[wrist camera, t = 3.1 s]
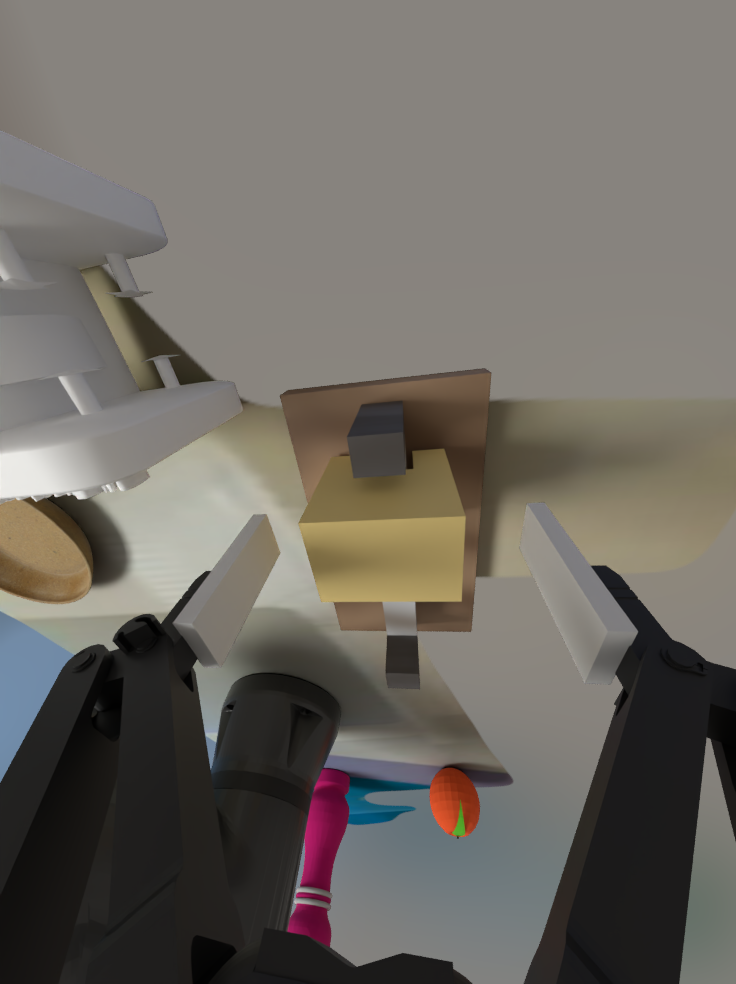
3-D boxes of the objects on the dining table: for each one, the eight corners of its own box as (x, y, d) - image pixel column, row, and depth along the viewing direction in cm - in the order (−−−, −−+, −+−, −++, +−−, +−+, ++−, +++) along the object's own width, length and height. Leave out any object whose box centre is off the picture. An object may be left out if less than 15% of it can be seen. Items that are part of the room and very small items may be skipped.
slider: (443, 516, 21) (461, 601, 14) (344, 521, 22) (321, 601, 15) (444, 448, 18) (465, 516, 12) (331, 457, 19) (298, 523, 13)
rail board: (468, 617, 28) (486, 698, 22) (343, 616, 30) (329, 692, 24) (484, 368, 17) (528, 396, 11) (287, 390, 19) (235, 424, 13)
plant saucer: (137, 536, 27) (113, 556, 25) (86, 603, 34) (64, 624, 31) (-42, 421, 23) (-90, 432, 21) (-62, 522, 29) (-101, 540, 27)
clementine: (430, 753, 44) (435, 824, 38) (479, 759, 43) (492, 832, 37) (425, 774, 48) (429, 841, 42) (470, 780, 47) (480, 849, 41)
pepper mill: (336, 786, 55) (305, 1002, 37) (303, 772, 53) (256, 993, 35) (361, 778, 51) (340, 1010, 34) (327, 763, 49) (288, 1001, 32)
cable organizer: (193, 202, 15) (-228, -28, 5) (260, 412, 20) (122, 507, 10) (-40, 261, 17) (-644, 186, 7) (74, 435, 22) (-188, 531, 12)
